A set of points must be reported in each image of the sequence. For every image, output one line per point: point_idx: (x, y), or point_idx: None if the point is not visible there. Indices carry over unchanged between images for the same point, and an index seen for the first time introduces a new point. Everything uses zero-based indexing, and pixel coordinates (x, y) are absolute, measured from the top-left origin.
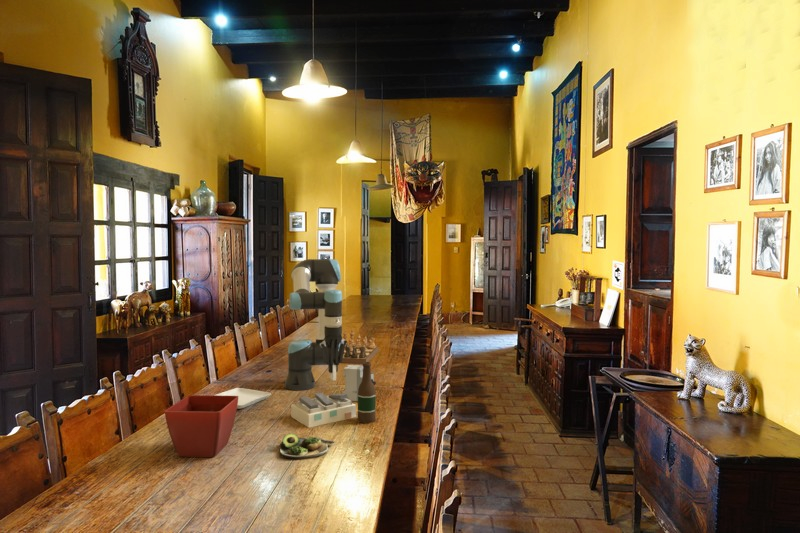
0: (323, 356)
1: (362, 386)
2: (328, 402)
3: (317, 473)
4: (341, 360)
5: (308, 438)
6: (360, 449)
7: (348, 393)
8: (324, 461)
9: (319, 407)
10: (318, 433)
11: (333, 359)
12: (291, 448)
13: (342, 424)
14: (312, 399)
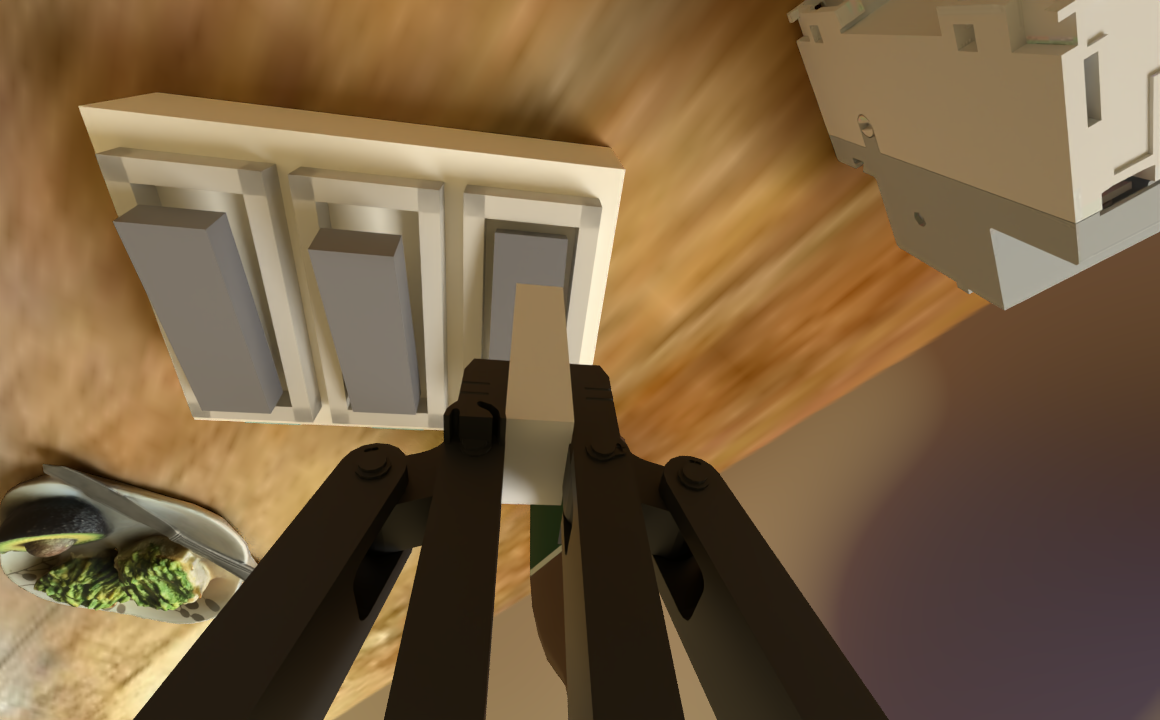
0: (228, 638)
1: (549, 658)
2: (379, 402)
3: (148, 670)
4: (686, 565)
5: (138, 580)
6: None
7: (837, 70)
8: (197, 634)
9: (288, 409)
10: (264, 455)
11: (573, 517)
12: (45, 591)
13: (440, 430)
14: (310, 202)
